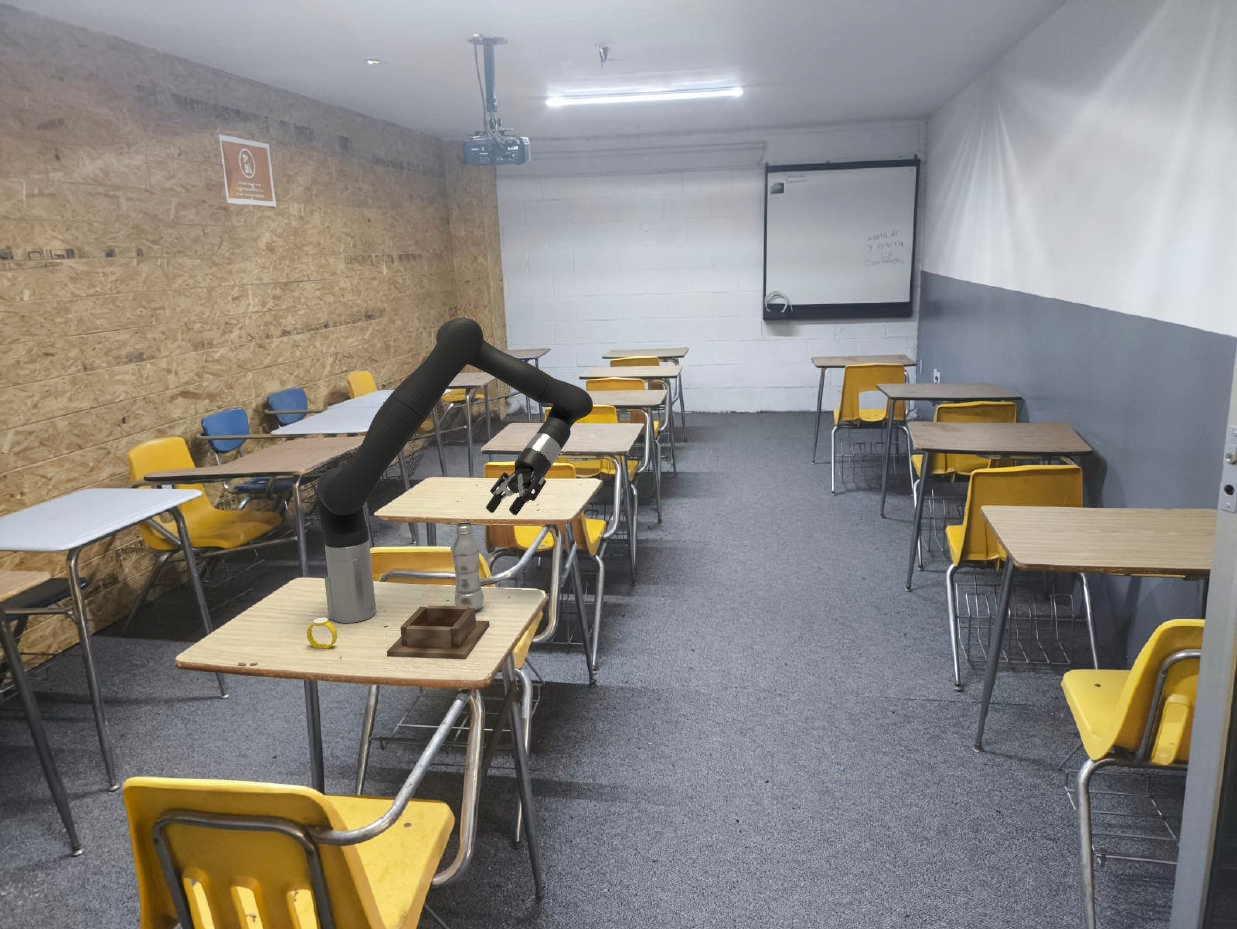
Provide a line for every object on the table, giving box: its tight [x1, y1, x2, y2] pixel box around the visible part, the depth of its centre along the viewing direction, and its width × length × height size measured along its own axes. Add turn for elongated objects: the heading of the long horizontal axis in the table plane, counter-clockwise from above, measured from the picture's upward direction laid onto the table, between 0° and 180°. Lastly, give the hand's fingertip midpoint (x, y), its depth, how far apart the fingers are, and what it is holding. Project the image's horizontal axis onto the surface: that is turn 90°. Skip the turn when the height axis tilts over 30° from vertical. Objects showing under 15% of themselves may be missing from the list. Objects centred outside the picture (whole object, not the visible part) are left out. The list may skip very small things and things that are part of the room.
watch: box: [306, 617, 338, 650], centre depth 160 cm, size 6×3×6 cm, turn 80°
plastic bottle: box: [450, 521, 485, 612], centre depth 175 cm, size 6×7×20 cm
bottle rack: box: [386, 604, 491, 660], centre depth 162 cm, size 16×16×5 cm
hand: (500, 511), depth 176 cm, fingers open, 8 cm apart
